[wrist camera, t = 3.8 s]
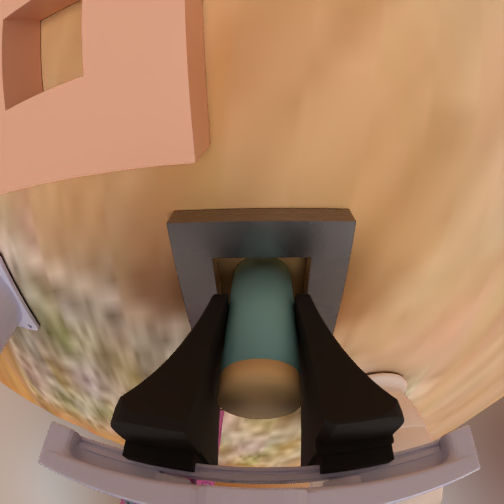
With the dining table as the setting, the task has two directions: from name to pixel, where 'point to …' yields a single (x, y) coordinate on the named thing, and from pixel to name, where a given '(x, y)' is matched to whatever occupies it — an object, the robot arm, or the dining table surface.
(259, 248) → the mount
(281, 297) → the pin
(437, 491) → the jar
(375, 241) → the dining table surface
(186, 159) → the socket
